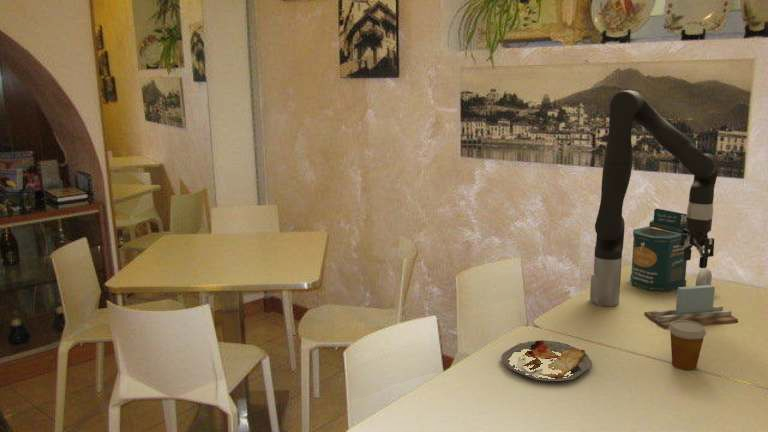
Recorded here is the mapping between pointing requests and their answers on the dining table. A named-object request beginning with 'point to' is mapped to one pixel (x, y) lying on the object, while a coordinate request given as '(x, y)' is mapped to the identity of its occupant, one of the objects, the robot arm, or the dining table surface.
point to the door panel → (695, 299)
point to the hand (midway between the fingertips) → (694, 263)
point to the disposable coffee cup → (686, 343)
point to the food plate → (566, 362)
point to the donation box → (659, 253)
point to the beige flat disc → (704, 277)
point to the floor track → (692, 317)
